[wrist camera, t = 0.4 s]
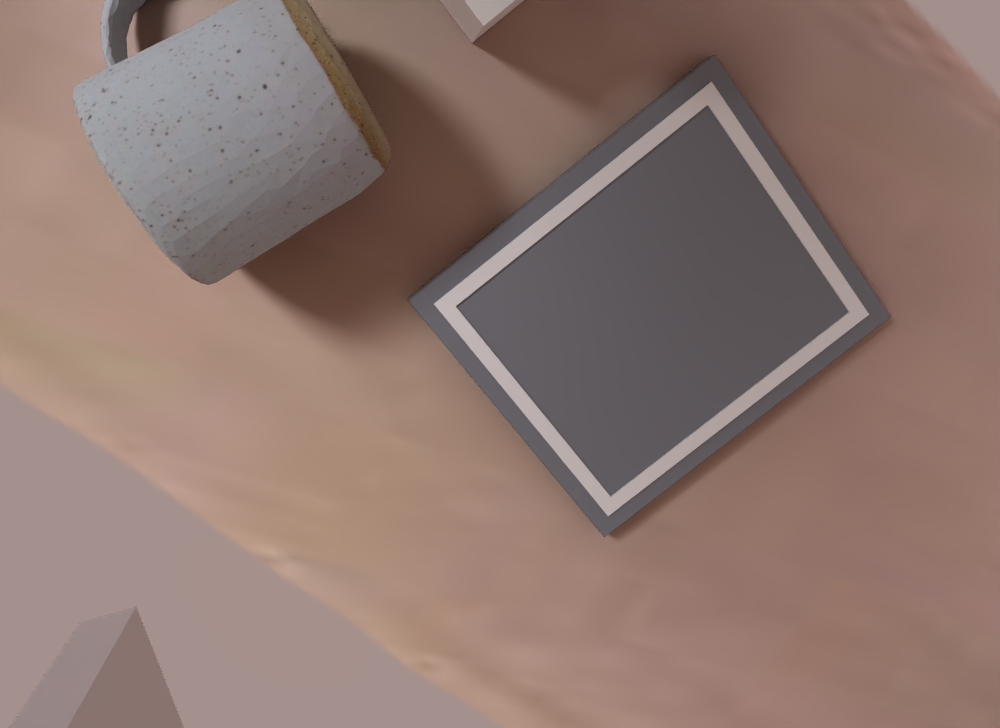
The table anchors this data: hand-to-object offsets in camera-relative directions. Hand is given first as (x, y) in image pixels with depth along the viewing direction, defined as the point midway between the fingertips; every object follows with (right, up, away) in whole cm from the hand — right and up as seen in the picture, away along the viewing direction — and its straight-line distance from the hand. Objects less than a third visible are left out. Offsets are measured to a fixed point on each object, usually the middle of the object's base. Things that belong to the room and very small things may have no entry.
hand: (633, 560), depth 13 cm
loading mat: (+4, +5, +25) cm, 26 cm away
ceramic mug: (-12, +12, +22) cm, 28 cm away
